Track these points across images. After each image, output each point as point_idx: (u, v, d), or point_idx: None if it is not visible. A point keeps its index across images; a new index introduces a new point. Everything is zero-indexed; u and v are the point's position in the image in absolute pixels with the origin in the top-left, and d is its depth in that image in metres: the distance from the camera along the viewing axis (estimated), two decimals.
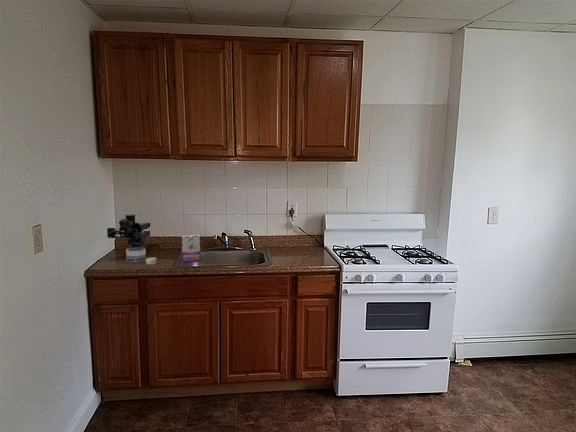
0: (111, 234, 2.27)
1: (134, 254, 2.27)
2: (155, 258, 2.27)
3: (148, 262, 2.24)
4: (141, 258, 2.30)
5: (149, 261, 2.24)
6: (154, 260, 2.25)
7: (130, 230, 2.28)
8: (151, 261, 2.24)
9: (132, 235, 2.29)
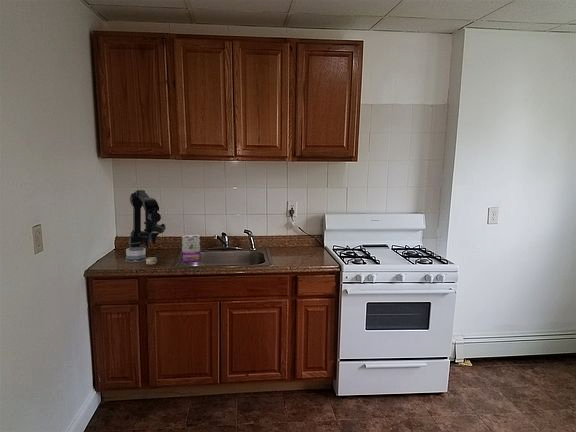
0: None
1: (134, 254, 2.27)
2: (155, 258, 2.27)
3: (148, 262, 2.24)
4: (141, 258, 2.30)
5: (149, 261, 2.24)
6: (154, 260, 2.25)
7: (158, 234, 2.31)
8: (151, 261, 2.24)
9: None
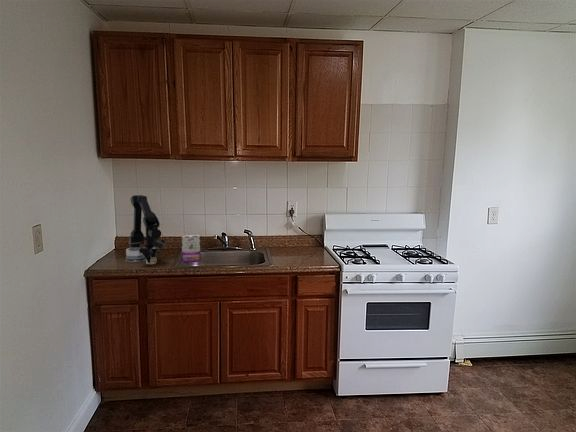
0: None
1: (134, 254, 2.27)
2: (155, 258, 2.27)
3: None
4: (141, 258, 2.30)
5: None
6: (154, 260, 2.25)
7: (158, 249, 2.30)
8: (151, 261, 2.24)
9: None
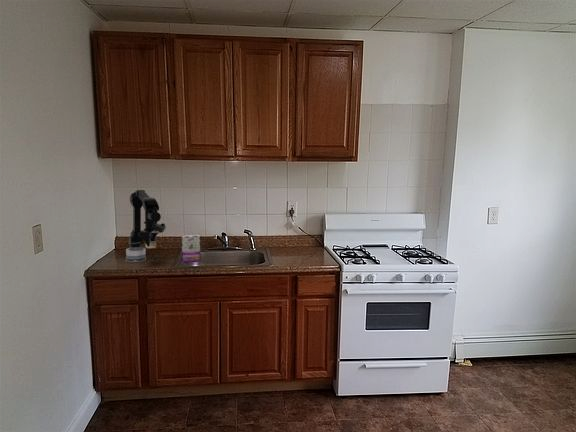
0: None
1: (134, 254, 2.27)
2: (155, 242, 2.26)
3: (147, 246, 2.23)
4: (141, 258, 2.30)
5: None
6: (154, 244, 2.24)
7: (157, 233, 2.29)
8: (150, 245, 2.23)
9: None
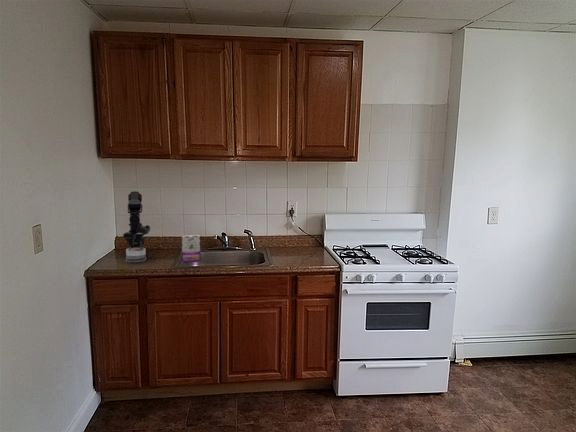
0: None
1: (134, 254, 2.27)
2: (139, 249, 2.32)
3: None
4: (141, 258, 2.30)
5: None
6: None
7: (143, 235, 2.37)
8: None
9: None
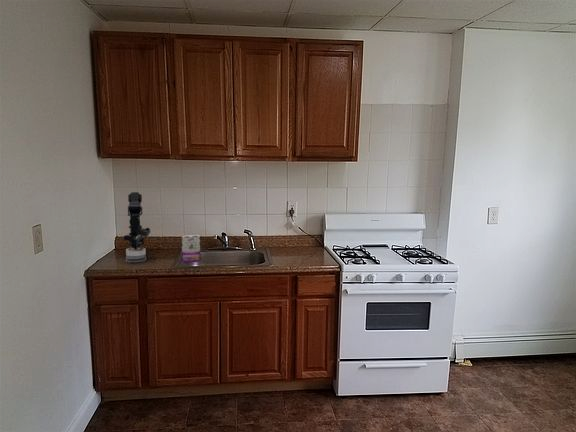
0: None
1: (134, 254, 2.27)
2: (139, 249, 2.32)
3: None
4: (141, 258, 2.30)
5: None
6: None
7: (140, 238, 2.32)
8: None
9: None
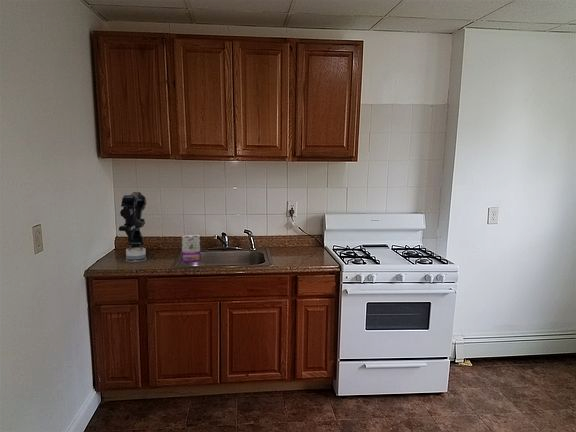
0: None
1: (134, 254, 2.27)
2: (139, 249, 2.32)
3: None
4: (141, 258, 2.30)
5: None
6: None
7: (135, 229, 2.37)
8: None
9: None
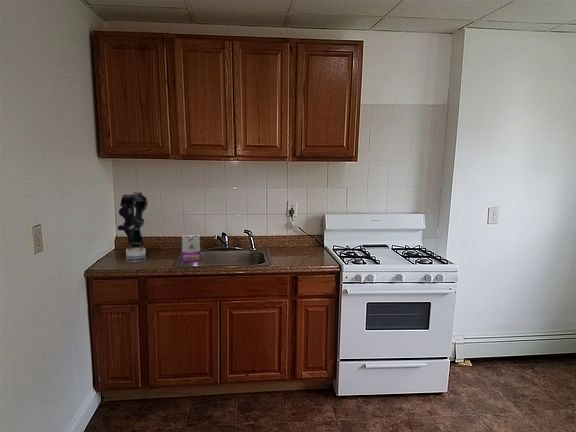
0: None
1: (134, 254, 2.27)
2: (139, 249, 2.32)
3: None
4: (141, 258, 2.30)
5: None
6: None
7: (134, 229, 2.37)
8: None
9: None
